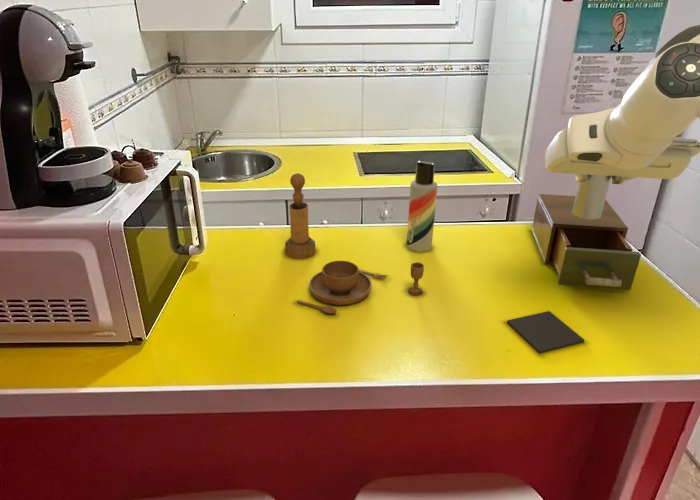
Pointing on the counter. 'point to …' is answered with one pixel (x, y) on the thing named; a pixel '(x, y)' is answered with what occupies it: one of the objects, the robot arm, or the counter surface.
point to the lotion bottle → (422, 208)
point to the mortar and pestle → (299, 223)
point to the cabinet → (567, 221)
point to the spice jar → (591, 197)
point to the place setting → (349, 284)
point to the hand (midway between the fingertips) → (597, 179)
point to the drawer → (593, 258)
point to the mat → (545, 332)
